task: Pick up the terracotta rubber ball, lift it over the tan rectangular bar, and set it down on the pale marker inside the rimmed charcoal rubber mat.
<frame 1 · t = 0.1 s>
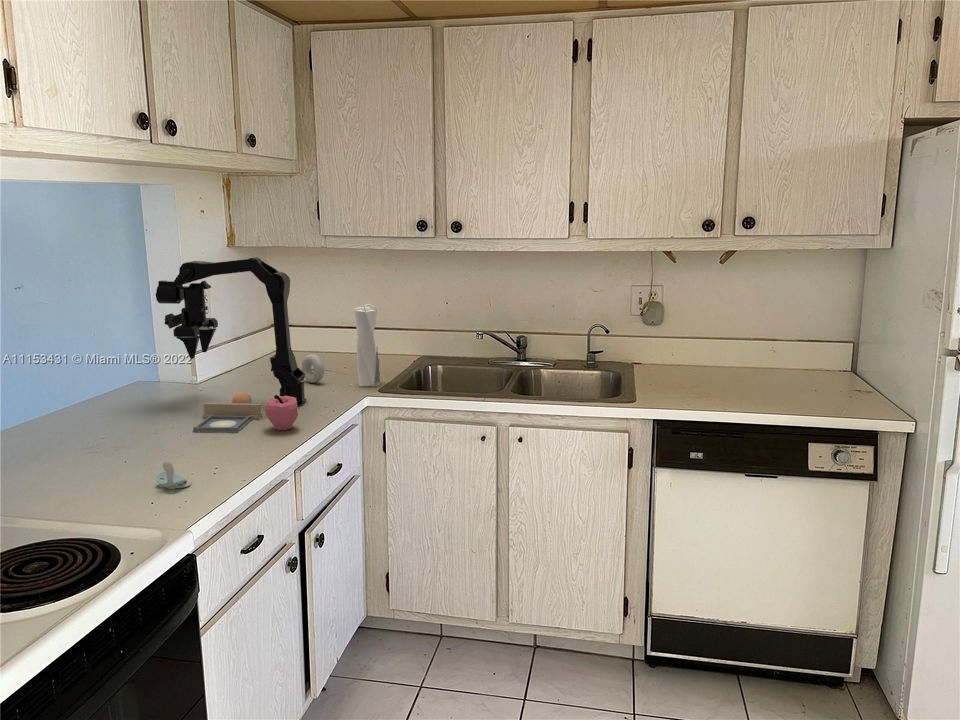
hand: (198, 355, 218), 15 cm above the counter, tool pointing down, fingers open, 9 cm apart
tan rectangular bar: (233, 417, 206), on the counter
apple: (283, 429, 196), on the counter
donut: (313, 383, 247), on the counter
mat: (223, 425, 198), on the counter
pacifier: (175, 486, 156), on the counter
skyscraper: (368, 385, 245), on the counter
ball: (241, 400, 213), point 3 cm above the counter
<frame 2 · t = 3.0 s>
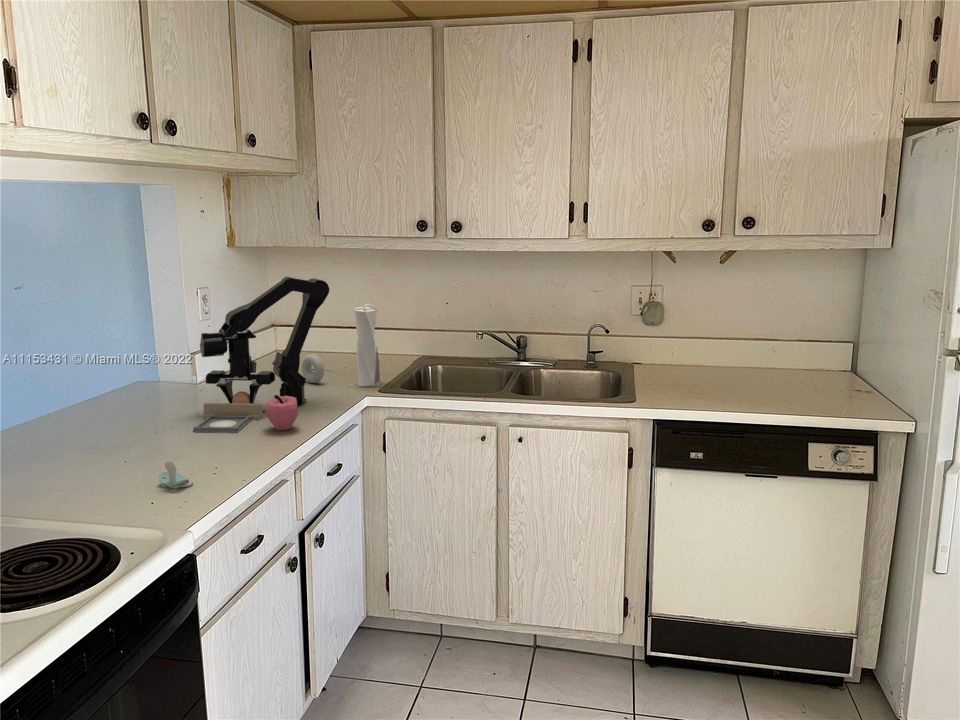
hand: (242, 405, 213), 1 cm above the counter, tool pointing down, fingers closed on ball, 5 cm apart
ball: (241, 400, 213), point 3 cm above the counter, touching gripper
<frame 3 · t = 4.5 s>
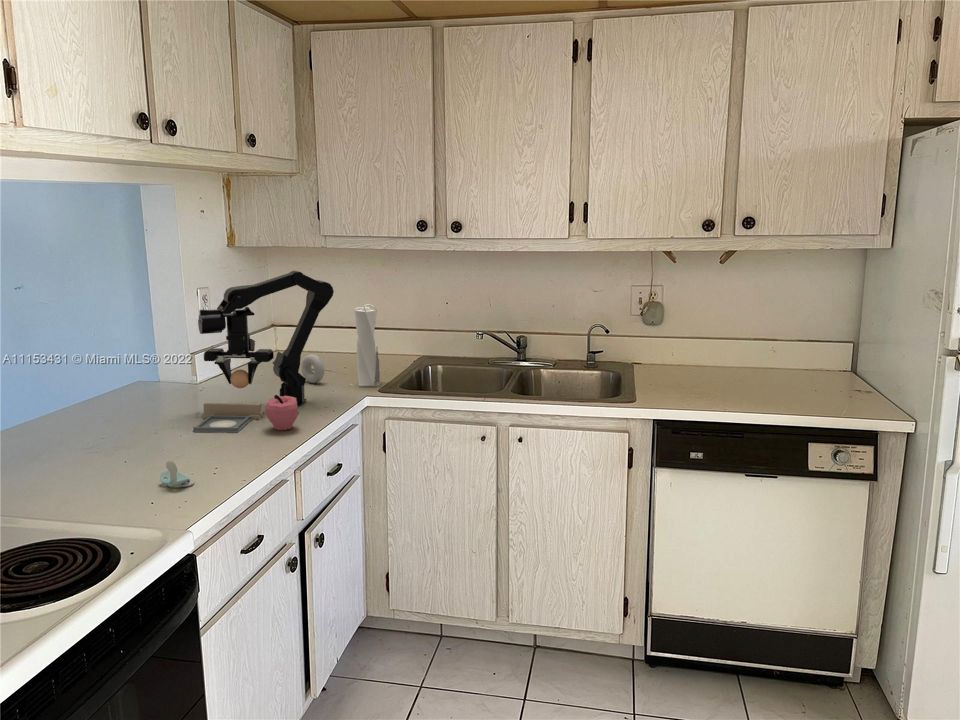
hand: (240, 383, 212), 8 cm above the counter, tool pointing down, fingers closed on ball, 5 cm apart
ball: (240, 378, 211), point 9 cm above the counter, touching gripper
everything else where it was.
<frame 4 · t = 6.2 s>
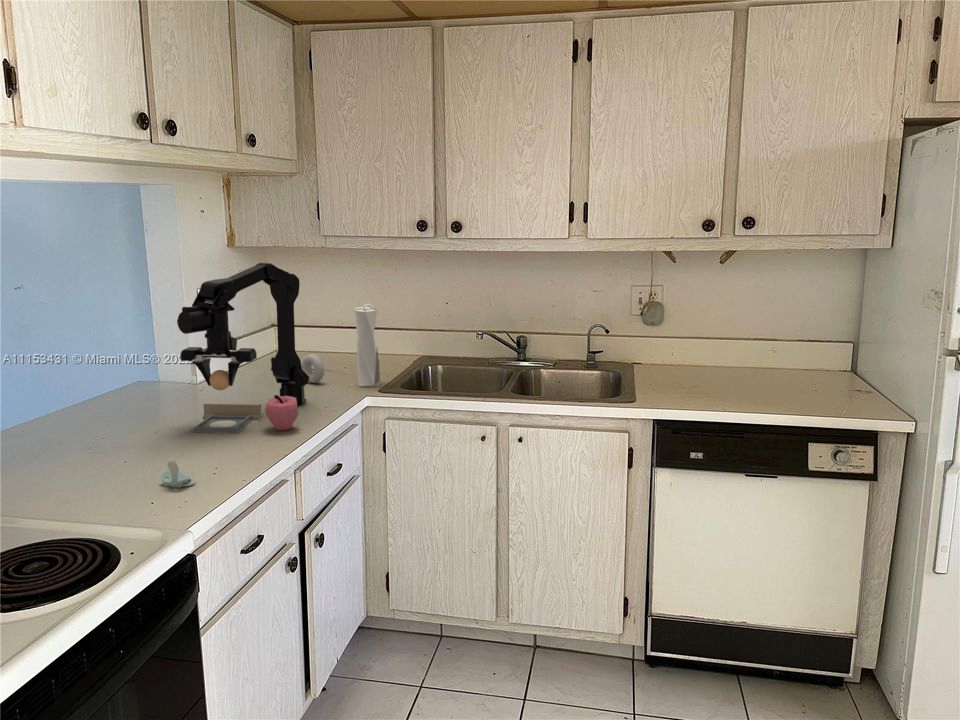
hand: (220, 385, 196), 11 cm above the counter, tool pointing down, fingers closed on ball, 5 cm apart
ball: (220, 380, 196), point 13 cm above the counter, touching gripper
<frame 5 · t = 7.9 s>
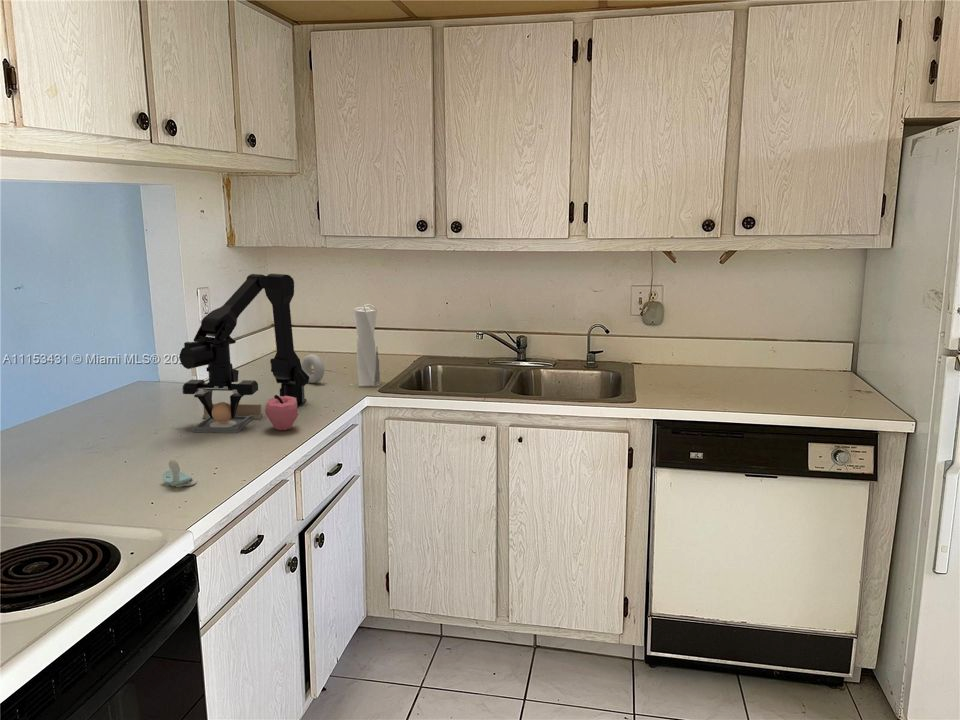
hand: (222, 417, 197), 2 cm above the counter, tool pointing down, fingers closed on ball, 5 cm apart
ball: (222, 412, 197), point 4 cm above the counter, touching gripper
when the fingers open (2 cm above the counter, at t = 9.2 s): ball stays where it is, resting on mat.
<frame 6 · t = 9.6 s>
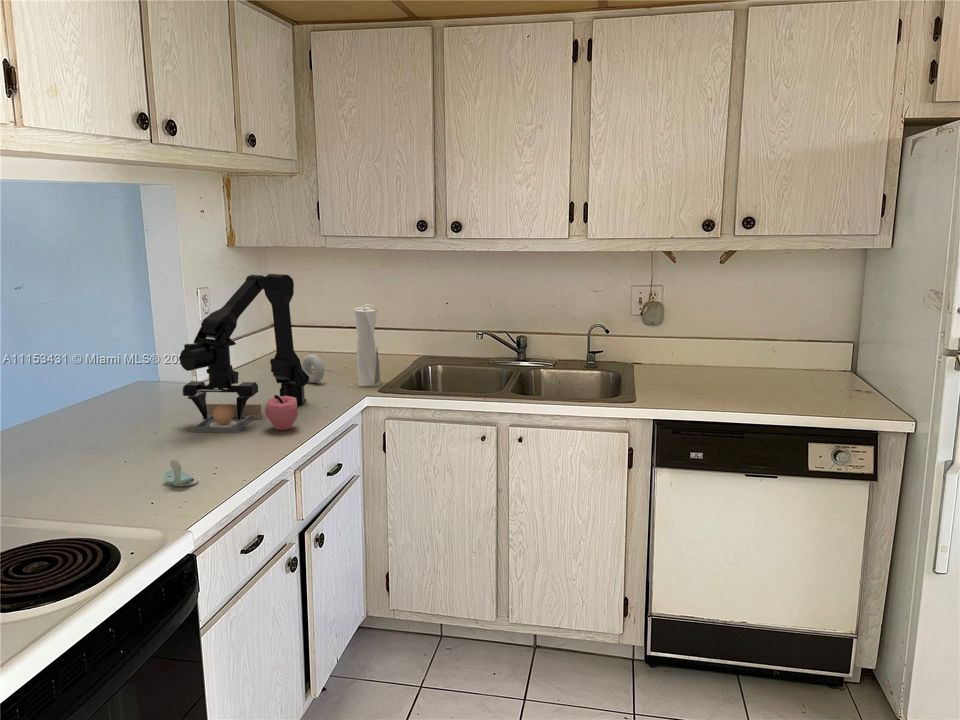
hand: (222, 419, 197), 2 cm above the counter, tool pointing down, fingers open, 9 cm apart
ball: (223, 414, 197), point 3 cm above the counter, tilted 5°, touching mat
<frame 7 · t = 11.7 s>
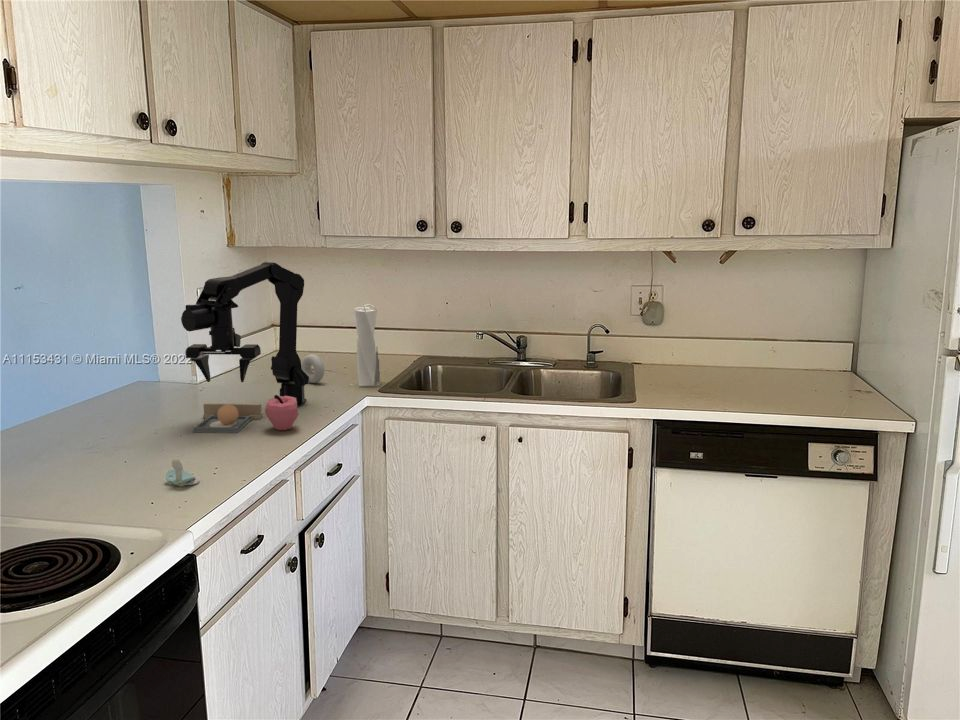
hand: (225, 381, 198), 12 cm above the counter, tool pointing down, fingers open, 9 cm apart
ball: (228, 414, 197), point 3 cm above the counter, tilted 32°, touching mat
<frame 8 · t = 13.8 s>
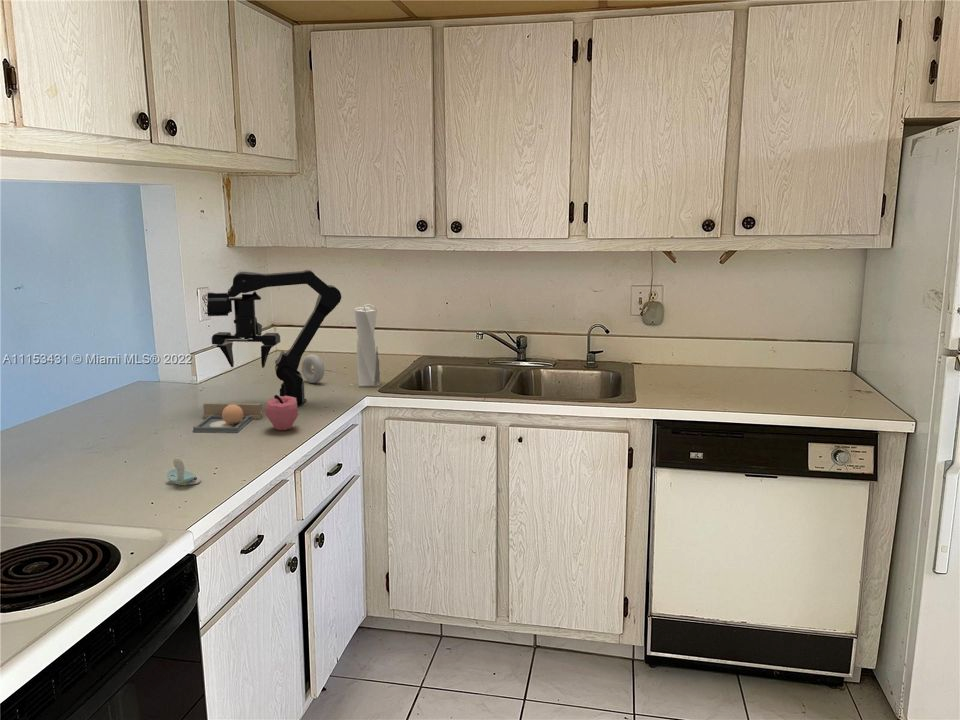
hand: (247, 367, 215), 12 cm above the counter, tool pointing down, fingers open, 9 cm apart
ball: (232, 414, 197), point 3 cm above the counter, tilted 59°, touching mat
at the end: ball inside the target area on the mat (2.9 cm from its centre), point 3.2 cm above the mat's base; the gripper is holding nothing; ball touching mat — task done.
